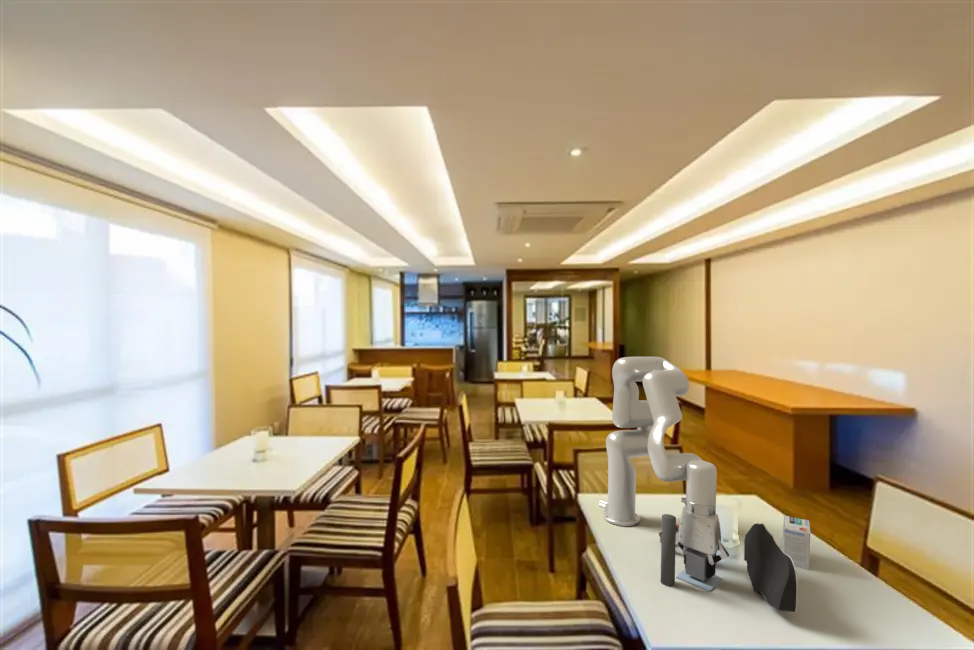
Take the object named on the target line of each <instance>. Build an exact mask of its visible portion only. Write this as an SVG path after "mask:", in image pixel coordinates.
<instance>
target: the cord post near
mask: <svg viewBox="0 0 974 650" xmlns="http://www.w3.org/2000/svg"><path fill="white" fill-rule="evenodd" d="M676 524H677V517H676V516H675V515H672V514H667V513H664V514H661V532H662V534H661V543H660V544H661V545H660V546H661V547H660V553H661V554H660V583H661V584H662V585H663V586H665V587H674V586H675V584H676V544H677V542H676Z"/></svg>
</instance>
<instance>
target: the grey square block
mask: <svg viewBox="0 0 974 650" xmlns="http://www.w3.org/2000/svg"><path fill="white" fill-rule="evenodd" d="M707 563H709V560H708V556H707V554H705V553H702V552H700V551H697V550H694V549H692V548H691V549H689V550H688V551H687V552H686V574H688V575H691V576H693V577H695V578H698V579H700V580H703V581H705V580H706V579H707Z"/></svg>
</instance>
